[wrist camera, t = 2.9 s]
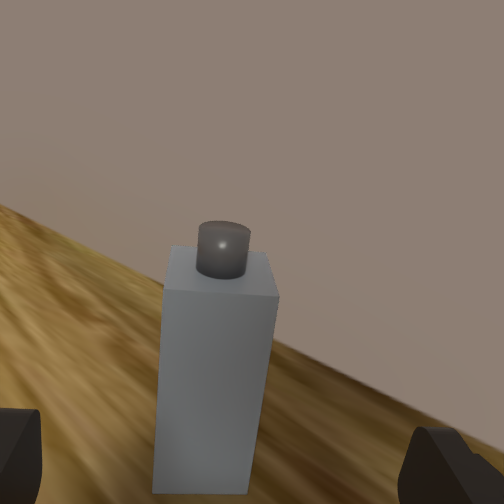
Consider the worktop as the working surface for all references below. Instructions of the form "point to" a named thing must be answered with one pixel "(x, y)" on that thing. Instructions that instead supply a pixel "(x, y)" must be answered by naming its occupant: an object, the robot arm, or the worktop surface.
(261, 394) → the grey-blue square bottle
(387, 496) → the worktop surface
